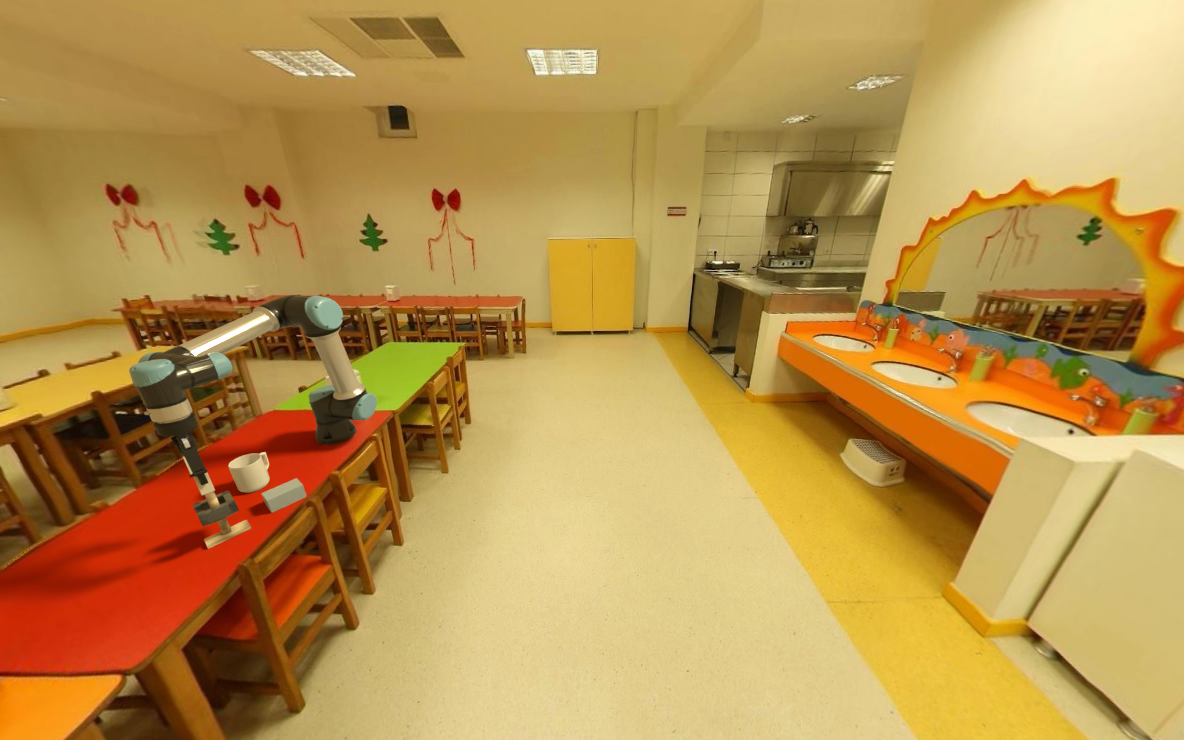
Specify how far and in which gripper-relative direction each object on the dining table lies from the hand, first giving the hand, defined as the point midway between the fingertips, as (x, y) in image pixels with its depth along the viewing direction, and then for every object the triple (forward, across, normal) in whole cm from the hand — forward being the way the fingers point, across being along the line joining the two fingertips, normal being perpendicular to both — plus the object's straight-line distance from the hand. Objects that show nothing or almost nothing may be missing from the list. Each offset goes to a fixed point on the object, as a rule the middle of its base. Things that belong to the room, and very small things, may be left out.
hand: (202, 482), depth 108 cm
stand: (+20, 0, 0) cm, 20 cm away
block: (+20, -4, +16) cm, 26 cm away
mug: (+20, -23, +13) cm, 33 cm away
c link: (+11, 0, 0) cm, 11 cm away
